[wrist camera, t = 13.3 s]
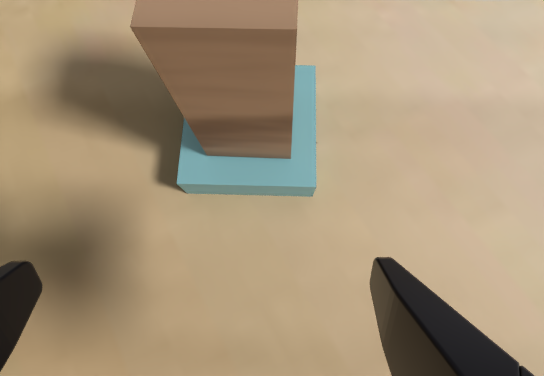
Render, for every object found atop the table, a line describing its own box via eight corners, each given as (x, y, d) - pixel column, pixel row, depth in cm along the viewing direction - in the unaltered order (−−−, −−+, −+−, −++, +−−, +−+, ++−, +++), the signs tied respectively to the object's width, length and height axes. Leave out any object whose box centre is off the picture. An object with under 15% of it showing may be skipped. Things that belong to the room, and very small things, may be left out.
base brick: (311, 198, 23) (316, 187, 21) (189, 195, 24) (176, 183, 21) (311, 89, 26) (315, 65, 23) (199, 87, 26) (190, 64, 23)
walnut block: (290, 158, 21) (296, 29, 10) (207, 155, 21) (130, 26, 11) (293, 85, 22) (301, -91, 12) (216, 83, 23) (156, -91, 12)
